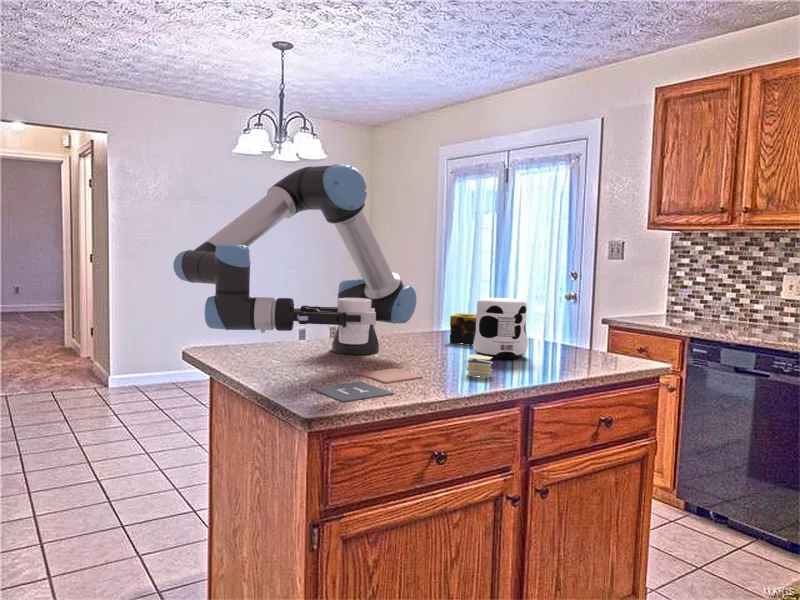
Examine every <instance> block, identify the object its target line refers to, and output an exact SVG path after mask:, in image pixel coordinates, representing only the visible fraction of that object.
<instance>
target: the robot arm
mask: <svg viewBox="0 0 800 600" xmlns="http://www.w3.org/2000/svg"><path fill="white" fill-rule="evenodd" d="M366 184H367V183H366V181H365V177H364V176H363V174H362V173H361V172H360V171H359V170H358V169H356V168H355V167H354V166H352V165H347V164H341V163H340V164H339V163H338V164H337V163H336V164H332V165H320V166H317V165H316V166H305V167H302V168H299V169H297V170H294V171H293V172H291V173H289V174H288V175H286V176H285V177H282V179H280V180H279V181H277V182H276V183H274V185H272V186H271V187H269V188H268V189H267V192H266V195H265V196H263V197H262V199H261V198H260V200H259V201H257V202H256V203H255V204H253V205H252V206H251V207H249V208H248V209H246V210H245V211H244V212H243V213H241V214H240V215H239V216H238V217H236V218H235V219H233V220H232V221H230V222H229V223H228V224H226V226H224V227H223V228H222V229H220V230H219V231H218V232H216V233H215V234H213V235H212V236H211V237H209V238H208V239H207V240H206V241H204V242H203V243H201V244H200V245H199V246H197V247H195V249H188V250H185V251H184V250H183V251H180V252H179V253H178V254H177V255H176V256H175V258H174V260H173V272H174V273H175V275H176V276H177V277H178V279H180V280H182V281H185V282H189V283H194V284H197V283H198V284H211V285H215V294H214V295H212V296H208V297H207V298H206V300H205V304H204V322H205V324H206V325H207V327H208V328H209V329H213V330H214V329H217V330H225V331H259V330H260V333H262V334H264V333H266V331H273V330H274V329H275V330H277V331H278V332H279V331H284V332H285V331H286V332H291V331H292V330H293V328H294V324H295V323H294V322H298V324H299V325H310V324H311V325H331V326H337V327H336V331H335V333H334V336H333V339H332V342H331V351H332V352H334V353H336V354H337V353H338V354H343V355H371V354H377V353H379V351H380V343H379V340H378V337H377V334H376V330H375V325H376V323H377V322H382V323H387V324H388V323H389V324H393V325H394V324H400V325H401V324H405V323H408V322H409V320H411V318H412V317H413V315H414V313H415V311H416V308H417V307H416V306H417V293H416V290H415V288H414V287H413V286H410V285H405V284H404V283H403V282H402V280H401V277H400V276H399V274H398V273H396V272H394V271H393V272H392V269H391V268H390V266H389V264H388V262H387V259H386V257H385V256H384V252H383V251H382V249H381V247H380V244H379V242H378V240H377V238H376V236H375V233H374V232H373V229H372V227H371V226H370V222H369V221H368V219H367V217H366V215H365V212H364V211H363V210H364V209H365V206H366V203H365V201H366V200H367V196H368V195H367V191H366V190H367V185H366ZM312 210H313V211H314V210H315V211H319V210H320V211H321V213H322V214H323V216H324V218H325V220H326V222H327V223H328V224H330V225H331V224H332V225H334V226H335V228H336V229H337V232H338V233H339V236H340V237H341V239H342V241H343V243H344V245H345V247H346V249H347V251H348V253H349V255H350V257H351V258H352V261H353V262H354V265H355V266H356V269H357V270H358V273H359V274H360V277H362V278H359V279H357V278H356V279H347V280H346V279H345V280H342V281H340V282H339V285H338V293H337V299H339V298H366V299H371V300H372V302H371V312H347V315H346V313H345V312H343V313H341V312H338V306H316V305H315V306H312V305H311V306H309V305H301V306H300V307H299V308H295V303H294V298H292V297H290V298H289V297H278V298H276V299H275V297H266V296H265V297H264V296H260V297H258V296H257V297H256V296H255V297H251V296H250V291H251V290H250V286H251V285H250V281H251V280H250V279H251V278H250V276H251V258H250V254H251V253H250V248H249V247H250V246H251V245H253V244H254V243H256V242H257V241H258V240H259V239H260V238H261V237H262V236H264V235H265V234H266V233H268V232H269V231H270V230H272V229H273V228H274V227H275V226H276V225H278V224H279V223H280V222H281V221H282V220H283V219H290V218H293V217H294V216H295V215H296V214H298V213H300V212H304V211H312ZM346 322H347V324H365V325H370V328H369V336H368V342H367V343H365V344H344V343H340V342H339V329H338V325H342V327H346Z"/></svg>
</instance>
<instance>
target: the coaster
mask: <svg viewBox="0 0 800 600" xmlns="http://www.w3.org/2000/svg"><path fill="white" fill-rule="evenodd" d="M358 375H359V376H363V377H366V378H369V379H371V380H375V381H377V382H381V383H384V384H390V383H397V382H403V381H411V380H417V379H423V377H424V376H422V375H419V374H416V373H412V372H409V371H404V370H402V369H399V368H395V367H394V368H388V369H386V368H385V369H380V370H372V371H365V372H364V371H362V372H358Z"/></svg>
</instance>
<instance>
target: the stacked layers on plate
mask: <svg viewBox="0 0 800 600" xmlns="http://www.w3.org/2000/svg"><path fill="white" fill-rule="evenodd" d="M467 358H468V359H467V364H468V366H467V369H466V371H467V372H468V375H469V376H480V377H489V376H490V375H491V376H492V371H493V369H492V364H494V362H493V361H490V360H491V359H492V358H493V357H488V356H483V355H480V354H474V353H473V354H468V355H467ZM488 360H489V361H488ZM468 375H467V376H468ZM469 376H468V377H469ZM491 376H490V377H491ZM490 377H489V378H490Z"/></svg>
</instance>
